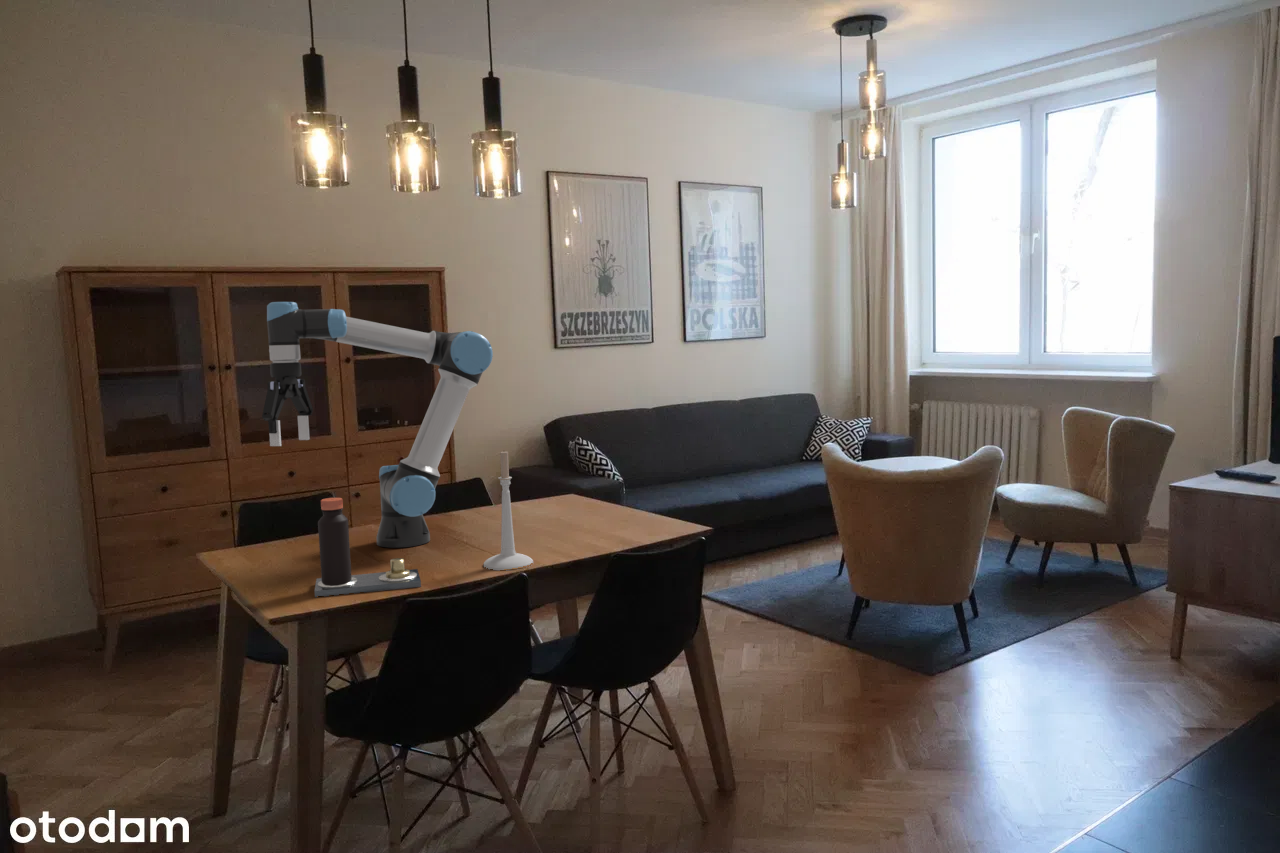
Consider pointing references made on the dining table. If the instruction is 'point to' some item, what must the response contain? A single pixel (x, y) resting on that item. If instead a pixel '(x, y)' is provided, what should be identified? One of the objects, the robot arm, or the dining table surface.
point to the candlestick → (506, 528)
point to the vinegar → (334, 543)
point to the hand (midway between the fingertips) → (290, 443)
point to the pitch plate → (374, 581)
